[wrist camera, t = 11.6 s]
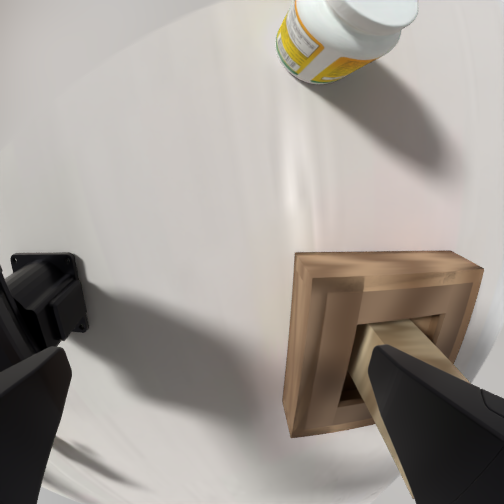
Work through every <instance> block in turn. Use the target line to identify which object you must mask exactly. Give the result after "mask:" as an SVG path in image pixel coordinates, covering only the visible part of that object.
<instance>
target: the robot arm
mask: <svg viewBox="0 0 504 504" xmlns="http://www.w3.org/2000/svg"><path fill="white" fill-rule="evenodd" d="M15 258H16V260H17V261H16V260H15ZM67 258H69V260H70V262H68V261H67ZM11 265H12V269H13V274H11V275H10V276H8V277H7V278H6V279H4V277H3V274H2V268H1V266H0V504H37V500H38V495H39V492H40V488H41V484H42V480H43V476H44V472H45V469H46V465H47V462H48V458H49V455H50V451H51V448H52V445H53V442H54V439H55V436H56V432H57V429H58V426H59V424H60V420H61V417H62V413H63V409H64V405H65V401H66V397H67V393H68V389H69V385H70V381H71V378H72V370H71V367H70V364H69V361H68V359H67V356H66V353H65V351H64V349H63V348H61V347H57V346H58V344H59V343H60V342H61V341H65V340H66V338H67V337H68V336H69V334H70V333H71V332H82V333H84V332H86V331H87V330H88V328H89V325H88V321H87V317H86V306H85V302H84V297H83V293H82V288H81V283H80V281H79V279H78V274H77V268H76V262H75V258H74V256H73V254H71V253H15V254H13V255H12V256H11ZM81 325H83V326H84V327H82V326H81ZM368 376H369V379H370V383H371V386H372V389H373V392H374V395H375V399H376V402H377V405H378V409H379V412H380V415H381V417H382V420H383V422H384V425H385V427H386V429H387V432H388V434H389V436H390V439H391V441H392V443H393V446H394V448H395V451H396V453H397V456H398V458H399V460H400V463H401V465H402V468H403V470H404V473H405V475H406V478H407V480H408V483H409V486H410V488H411V491H412V493H413V496H414V499H415V501H416V504H504V399H503V398H501V397H499V396H497V395H494V394H492V393H490V392H488V391H485V390H483V389H480V388H479V387H477V386H474V385H472V384H470V383H468V382H466V381H464V380H462V379H460V378H457V377H455V376H453V375H451V374H449V373H447V372H445V371H443V370H440V369H438V368H436V367H434V366H432V365H430V364H428V363H426V362H424V361H422V360H420V359H417V358H415V357H413V356H411V355H409V354H407V353H405V352H403V351H401V350H399V349H397V348H395V347H393V346H391V345H389V344H383V345H377V346H375V347H374V348H373V351H372V355H371V358H370V362H369V366H368Z"/></svg>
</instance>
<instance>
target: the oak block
mask: <svg viewBox="0 0 504 504" xmlns="http://www.w3.org/2000/svg"><path fill="white" fill-rule="evenodd" d="M383 344H389V345H391V346H393V347H395V348H397V349H399V350H401V351H403V352H405V353H407V354H409V355H411V356H413V357H415V358H417V359H420V360H422V361H424V362H426V363H428V364H430V365H432V366H434V367H436V368H438V369H440V370H443V371H445V372H447V373H449V374H451V375H453V376H455V377H457V378H460V379H462V380H464V381H466V382H468V383H470V382H469V381H468V380H467V379H466V378H465V377H464V376H463V375H462V373H461V372H460V371H459V370H458V369H457V368H456V367H455V366H454V365H453V364H452V363H451V362H450V361H449V359H448V358H447V357H446V356H445V355H444V354H443V353H442V352H441V351H440V350H439V349H438V348H437V347H436V346H435V345H434V344H433V343H432V342H431V341H430V340H429V338H428V337H427V336H426V335H425V334H424V333H423V332H422V331H421V330H420V329H419V328H418V327H417V326H416V325H415V324H414V323H413V322H412V321H411V320H410V319H401V320H394V321H385V322H377V323H367V324H358V325H357V328H356V333H355V338H354V342H353V347H352V351H351V356H350V360H349V364H348V369H347V370H348V372H349V374H350V376H351V378H352V379H353V381H354V383H355V385H356V387H357V389H358V391H359V393H360V395H361V397H362V398H363V400H364V402H365V404H366V406H367V408H368V410H369V412H370V414H371V416H372V418H373V420H374V422H375V424H376V426H377V427H378V429H379V431H380V433H381V435H382V437H383V439H384V441H385V443H386V445H387V447H388V449H389V451H390V453H391V455H392V457H393V459H394V461H395V463H396V465H397V467H398V469H399V471H400V473H401V475H402V478H403V480H404V481H405V483H406V486H407V488H408V490H409V492H410V494H411V496H412V498H413V499H414V496H413V493H412V491H411V488H410V486H409V483H408V480H407V478H406V475H405V473H404V470H403V468H402V465H401V463H400V460H399V458H398V456H397V453H396V451H395V448H394V446H393V443H392V441H391V439H390V436H389V434H388V432H387V429H386V427H385V425H384V422H383V420H382V417H381V415H380V412H379V409H378V405H377V402H376V399H375V395H374V392H373V389H372V386H371V383H370V379H369V376H368V366H369V362H370V358H371V355H372V351H373V348H374V347H375V346H377V345H383ZM470 384H471V383H470Z"/></svg>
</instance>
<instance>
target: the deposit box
mask: <svg viewBox="0 0 504 504" xmlns="http://www.w3.org/2000/svg"><path fill="white" fill-rule="evenodd" d="M483 272H484V268H482V267H480V266H478V265H476V264H475V263H473V262H471V261H469V260H467V259H465V258H463V257H462V256H460V255H458V254H456V253H454V252H452V251H381V252H298V253H295V261H294V277H293V291H292V304H291V317H290V328H289V340H288V351H287V361H286V371H285V381H284V390H283V399H282V402H283V406H284V411H285V415H286V419H287V424H288V428H289V432H290V436H291V438H297V437H305V436H313V435H320V434H326V433H332V432H338V431H344V430H349V429H354V428H359V427H364V426H368V425H373V424H375V422H374V420H373V418H372V416H371V414H370V412H369V410H368V408H367V406H366V404H365V402H364V400H363V398H362V397H361V395H360V393H359V391H358V389H357V387H356V385H355V383H354V381H353V379H352V378H351V376H350V374H349V372H348V370H347V369H348V364H349V360H350V356H351V351H352V347H353V342H354V338H355V333H356V328H357V325H358V324H367V323H377V322H385V321H394V320H401V319H410V320H411V321H412V322H413V323H414V324H415V325H416V326H417V327H418V328H419V329H420V330H421V331H422V332H423V333H424V334H425V335H426V336H427V337H428V338H429V340H430V341H431V342H432V343H433V344H434V345H435V346H436V347H437V348H438V349H439V350H440V351H441V352H442V353H443V354H444V355H445V356H446V357H447V358H448V359H449V361H450V362H451V363H452V364H454V362H455V359H456V357H457V354H458V352H459V349H460V347H461V344H462V341H463V339H464V336H465V333H466V330H467V327H468V324H469V321H470V318H471V315H472V312H473V309H474V305H475V302H476V299H477V295H478V292H479V288H480V284H481V280H482V276H483Z"/></svg>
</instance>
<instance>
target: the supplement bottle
mask: <svg viewBox="0 0 504 504" xmlns="http://www.w3.org/2000/svg"><path fill="white" fill-rule="evenodd" d="M417 14H418V0H293V2H292V5H291V6H290V8H289V10H288V12H287V14H286V16H285V18H284V20H283V22H282V25H281V27H280V29H279V31H278V33H277V36H276V41H275V48H276V53H277V56H278V58H279V60H280V62H281V64H282V65H283V66H284V68H285V69H286V70H287V71H288V72H289V73H291V74H292V75H293V76H295V77H296V78H298V79H300V80H302V81H305V82H308V83H312V84H327V83H332V82H335V81H338V80H339V79H341V78H343V77H345V76H347V75H348V74H350V73H352V72H354V71H355V70H357V69H359V68H361V67H363V66H365V65H367V64H368V63H370V62H372V61H374V60H376V59H378V58H380V57H382V56H384V55H385V54H387V53H388V52H390V51H391V50H392V49H393V48H394V47H395V46H396V44H397V43H398V41H399V38H400V35H401V30H402V29H403V28H405V27H407V26H408V25H410V24H411V23H412V22H413V21H414V20H415V18H416V16H417Z"/></svg>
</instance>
